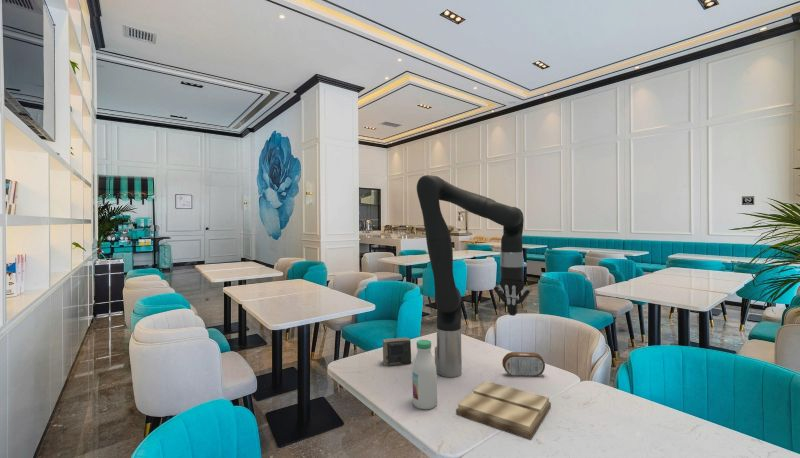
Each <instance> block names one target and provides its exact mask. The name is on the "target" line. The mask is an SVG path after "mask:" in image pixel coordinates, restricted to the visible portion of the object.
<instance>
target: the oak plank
mask: <svg viewBox="0 0 800 458" xmlns="http://www.w3.org/2000/svg"><path fill="white" fill-rule="evenodd" d="M472 391H473V392H472V393H475V394H478V395H481V396H485V397H488V398H492V399H495V400H499V401H502V402H506V403H509V404H512V405H516V406H519V407H523V408H526V409H530V410H533V411H537V412H539V415H541V413H542V412H543V410H544V409H545V407H546V406H547V404H548V403H549V402H550V401H549V400H550V399H549V398H550V397H548V396H544V395H540V394H537V393H533V392H530V391H526V390H522V389H518V388H514V387H509V386H506V385H502V384H499V383H495V382H491V381H488V380H483V381H482V382H481V383H480V384H479V385H478V386H476V387H475V388H474V390H472Z"/></svg>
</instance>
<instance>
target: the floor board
mask: <svg viewBox="0 0 800 458" xmlns="http://www.w3.org/2000/svg"><path fill="white" fill-rule="evenodd" d="M457 405H458V407H457V408H456V409H455V415H457V416H460V417H463V418H466V419H469V420H472V421H475V422H477V423H480V424H484V425H486V426H489V427H492V428H495V429H498V430H501V431H504V432H508V433H510V434H513V435H516V436H518V437H522V438H525V439H527V438H528V440H532V438H533V436H535V434H536V431H537V430H538V428H539V427H540V425H541V423H542V422H543V420H544V419H545V417H546V416H547V414H548V412H549V410H551V408H552V407H551V406H552V405H551V401H549V403H548V404H547V406H546V407H545V409H544V410H543V412H542V413H541V415H539V412H537V411H533V410H530V409H526V408H523V407H519V406H516V405H512V404H509V403H506V402H502V401H499V400H495V399H492V398H488V397H485V396H481V395H478V394H475V393H473V392H470V393H469V394H468V395H467V396H466V397H465V398H463V399H462V400H461V401H460V402H459V403H458V404H457Z"/></svg>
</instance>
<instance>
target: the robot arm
mask: <svg viewBox="0 0 800 458" xmlns="http://www.w3.org/2000/svg"><path fill="white" fill-rule="evenodd" d="M416 193H417V194H416V195H417V198H418V202H419V205H420V209H421V214H422V218H423V226H424V233H425V240H426V246H427V253H428V257H429V262H430V266H431V270H432V275H433V283H434V301H435V305H436V323H435V324H436V346H435V347H434V361H435V364H436V372H437V374H438V375H439V376H442V377H444V378H457V377H459V376H461V375H462V371H463V370H462V366H463V364H462V363H463V362H462V358H463V357H462V295H461V291H460V289H458V287H457V286H456V282H455V281H456V280H455V278H454V251H453V242H452V237H451V233H450V229H449V227H448V224H447V223H446V221H445V219H444V217H443V214H442V210H441V206H440V201H443V202H447V203H451V204H453V205H456V206H457V207H460V208H461V209H464V210H465V211H466V212H468V213H471V214H474V215H476V216H479V217H481V218H485V219H487V220H490V221H491V222H494V223H496V224H497V225H500V226H502V227H503V229H502V230H503V231H502V233H503V234H502V236H501V238H500V239H501V240H500V251H501V252H500V262H499V265H500V281H499V284H498V285H496V286H494V287H493V290H494V292H495V293H496V294H497V296H498V298H499V299H500V300H501V302H503V303H505V304H507V313H508V314H509V316H512V317H514V316H516V315H517V313H518V305H520V304H522V303H523V302H524V301H525V300H526V299H527V297H528V296H529V295H530V294H531V293H532V292H533V291H532V289H531V288H528V286H526V282H525V281H524V277H525V274H524V272H525V271H524V268H525V267H524V254H523V253H524V252H523V233H524V232H523V231H524V223H525V222H524V219H525V218H524V213H523V212H522V210H521V209H520V208H519V207H516V206H510V205H508V204H504V203H501V202H497V201H496V200H495V199H492V198H489V197H487V196H483V195H481V194H478V193H474V192H473V191H472V192H471V191H469V190H467V189H466V190H465V189H462V188H460V187H457V186H455V185H453V184H452V183H450V182H448V181H447V180H444V178H441V177H439V176H437V175H429V174H426V175H422V176H421V177H420V178H419V179H418V180H417V182H416ZM521 293H522V295H521V296H520V295H519V294H521Z"/></svg>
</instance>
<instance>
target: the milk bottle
mask: <svg viewBox="0 0 800 458" xmlns="http://www.w3.org/2000/svg"><path fill="white" fill-rule="evenodd" d="M431 349H432V341H430V339H429V340H428V339H419V340H417V341H416V350H417V352H416V355H415V358H414V360H413V363H412V371H411V372H412V373H411V374H412V380H411V381H412V403H413V404H412V405H413V406H414V407H415V408H417V409H419V410H431V409H434V408H435V407H436V406H437V404H438V380H437V379H438V378H437V377H438V376H437V374H438V373H437V372H436V364H435V358H433V357H434V356H433V354H432V351H431Z"/></svg>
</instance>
